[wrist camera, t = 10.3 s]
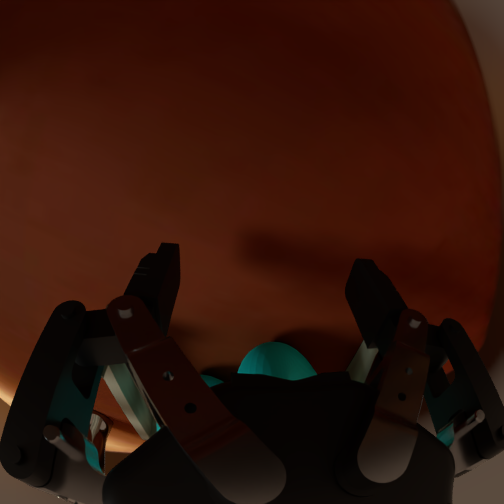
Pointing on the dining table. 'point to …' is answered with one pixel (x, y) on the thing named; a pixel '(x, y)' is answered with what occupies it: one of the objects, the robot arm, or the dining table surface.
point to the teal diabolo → (271, 364)
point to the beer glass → (97, 440)
